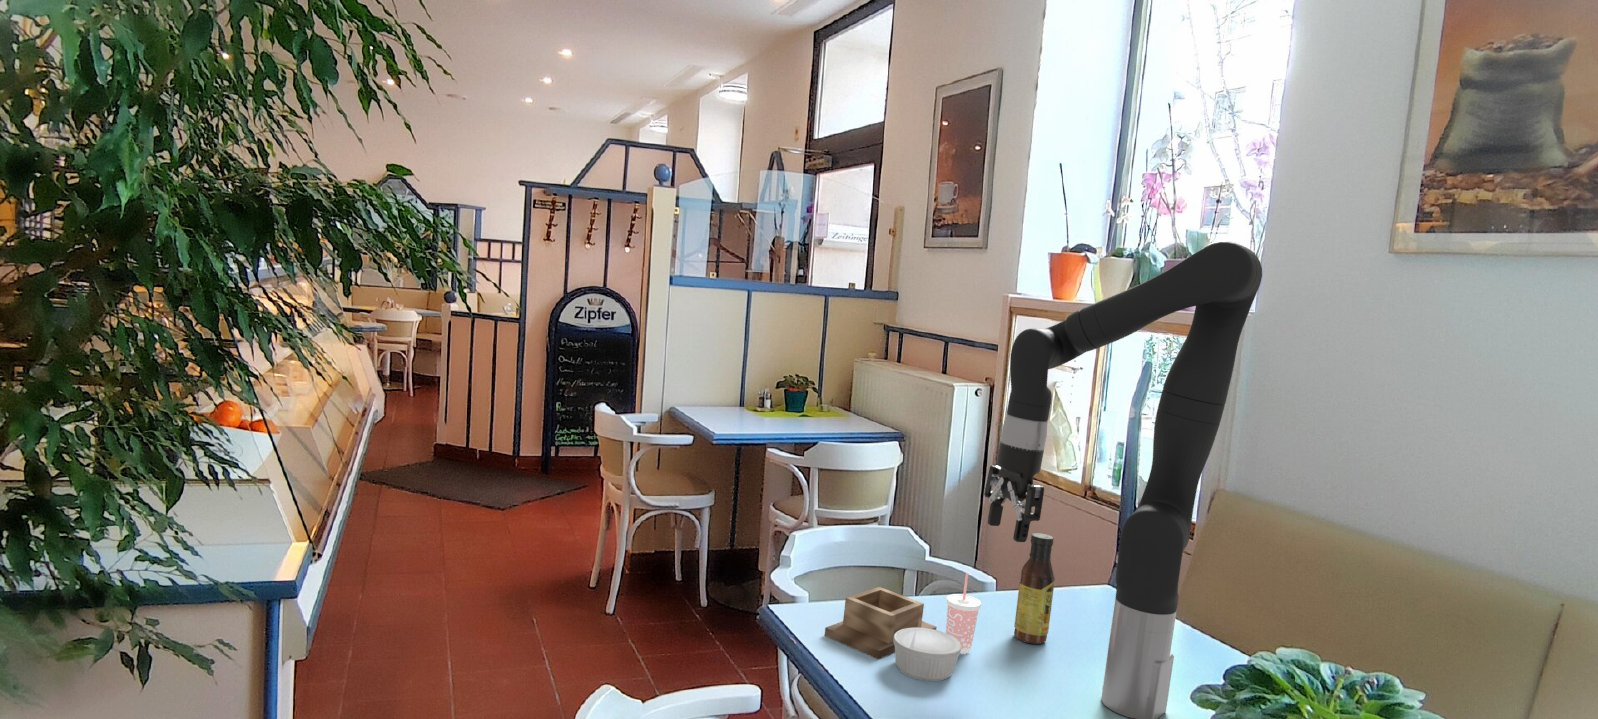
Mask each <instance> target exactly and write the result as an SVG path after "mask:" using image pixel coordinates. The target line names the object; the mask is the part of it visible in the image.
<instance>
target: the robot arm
mask: <svg viewBox="0 0 1598 719" xmlns="http://www.w3.org/2000/svg"><path fill="white" fill-rule="evenodd" d="M1262 267H1263V266H1262V263H1261V260H1260V259H1259V257H1258V256H1257V255H1256V254H1255V252H1254V251H1253V250H1251V249H1250V248H1248V247H1246V246H1244V245H1242V244H1240V243H1238V242H1237V243H1236V242H1233V241H1229V240H1220V241H1214V242H1211V243H1209V244H1207V245H1205V246H1204V247H1203V248H1200V249H1199V250H1198V251H1195V252H1194V253H1192V254H1191V255H1190V256H1188V257H1185V259H1183V260H1182V261H1180V262H1178V263H1177V264H1175V265H1174V266H1172V267H1170V268H1169V269H1167V270H1165V271H1162V273H1160V274H1158V275H1156V276H1154V277H1152V278H1150V279H1148V280H1147V281H1144V282H1142V283H1140V284H1138V285H1135V286H1133V287H1131V288H1128V289H1126V290H1124V291H1121V292H1119V293H1116V294H1114V295H1112V296H1108V297H1107V298H1104V299H1101V300H1099V301H1097V302H1095V303H1092V304H1090V305H1087V306H1085V307H1083V308H1080V309H1078V310H1076V311H1074V312H1072V313H1071V314H1069V315H1068V316H1067V317H1066V319H1064V320H1062V321H1060V322H1059V323H1056V324H1054V325H1052V326H1049V327H1046V328H1037V327H1034V328H1033V327H1032V328H1027V329H1024V330H1023V331H1020V332H1019V334H1017V336H1016V338H1015V339H1014V341H1013V344H1012V347H1011V351H1010V358H1009V360H1010V363H1009V367H1010V368H1009V369H1010V371H1009V373H1010V376H1009V378H1010V389H1011V390H1010V394H1009V398H1008V404H1007V408H1006V414H1005V418H1004V420H1003V423H1002V424H1003V425H1002V429H1001V434H1000V439H999V445H998V452H997V457H996V461H995V462H996V465H990V466H989V470H988V473H987V479H986V484H985V488H984V492H983V495H984V497H985V498H987V499H988V503H989V504H990V506H989V510H988V518H987V525H989V526H992V527H999V526H1000V525H1001V521H1002V516H1003V511H1004V510H1003V509H1004V505H1003V504H1004V503H1005V502H1006V501H1007V499H1008V501H1011V506H1012V508H1014V509H1015V513H1016V516H1017V517H1016V518H1017V519H1016V520H1015V526H1014V532H1013V541H1014V542H1016V543H1026V542H1027V539H1028V536H1029V531H1030V525H1031V522H1038V521H1039V522H1040V520H1041V515H1042V514H1041V513H1042V508H1043V501H1044V500H1043V499H1044V494H1045V487H1044V486H1043V485H1035V484H1034V476H1036V475H1038V474H1040V472H1041V470H1042V463H1043V458H1044V452H1045V448H1046V442H1047V437H1048V435H1047V434H1048V423H1049V422H1048V420H1049V415H1050V411H1051V405H1052V400H1053V399H1052V398H1053V397H1052V396H1053V393H1052V391H1051V389H1050V388H1049V387H1048V375H1049V374H1048V373H1049V370H1052V369H1054V368H1058V367H1060V366H1062V365H1064V364H1066V363H1068V362H1071V361H1073V360H1075V359H1076V358H1078V357H1080V356H1082V355H1084V354H1086V353H1088V352H1090V351H1093V350H1094V351H1095V350H1098V349H1100V348H1102V347H1104V346H1107V345H1109V344H1112V343H1114V342H1117V341H1120V340H1121V339H1124V338H1126V337H1129V336H1130V335H1132V334H1134V333H1136V332H1137V331H1140V330H1141V329H1144V327H1146V326H1148V325H1151V324H1152V323H1154V322H1156V321H1157V320H1160V319H1161V318H1164V317H1166V316H1169V315H1172V314H1174V313H1176V312H1179V311H1182V310H1185V309H1189V308H1192V307H1195V309H1194V313H1193V319H1192V322H1191V326H1190V327H1189V328H1190V329H1189V331H1188V333H1187V336H1186V338H1185V340H1184V341H1183V344H1181V345H1182V346H1181V347H1180V349H1179V351H1178V353H1177V355H1176V357H1175V358H1174V360H1173V362H1172V364H1171V366H1170V369H1169V370H1168V372H1167V376H1166V378H1165V381H1164V383H1163V388H1162V391H1161V395H1160V399H1159V402H1158V405H1157V410H1156V415H1155V420H1154V421H1155V422H1154V427H1153V441H1152V442H1153V443H1152V461H1151V467H1150V472H1149V475H1148V480H1147V481H1146V485H1145V488H1144V491H1143V493H1142V496H1141V499H1140V500H1139V503H1138V506H1137V508H1136V509H1135V511H1134V512H1132V513H1131V514H1130V515H1129V516H1128V517H1127V519H1126V520H1125V522H1124V523H1123V526H1122V529H1121V534H1120V540H1119V546H1118V554H1117V563H1116V564H1117V566H1116V571H1115V584H1116V593H1115V598H1114V605H1113V611H1112V618H1111V626H1110V633H1109V639H1108V640H1109V641H1108V647H1107V654H1106V655H1107V656H1106V662H1105V669H1104V670H1105V671H1104V675H1103V676H1104V677H1103V683H1102V691H1101V698H1100V700H1101V702H1102V703H1103V706H1105V707H1107V709H1109V710H1111V711H1113V712H1114V713H1116V714H1119V715H1120V716H1125V717H1128V718H1131V719H1159V718H1160V717H1162V716H1163V715H1164V714H1165V713H1166V712H1167V706H1168V698H1169V693H1170V688H1171V687H1170V686H1171V679H1172V674H1173V673H1172V672H1173V665H1174V660H1175V659H1174V658H1175V656H1174V654H1172V653H1171V652H1172V645H1173V644H1172V643H1173V638H1174V629H1175V623H1176V618H1177V617H1176V616H1177V610H1178V604H1179V598H1180V596H1179V581H1180V575H1181V574H1180V573H1181V568H1182V566H1181V565H1182V559H1183V554H1184V550H1185V549H1186V548H1187V546H1188V543H1189V541H1190V537H1191V528H1192V520H1193V514H1194V508H1195V500H1196V497H1197V496H1196V495H1197V492H1198V491H1197V490H1198V485H1199V482H1200V478H1201V475H1202V473H1203V471H1204V468H1205V465H1206V463H1207V461H1208V459H1209V456H1210V454H1211V451H1212V449H1213V446H1214V443H1215V440H1216V436H1217V434H1218V431H1219V428H1220V424H1221V422H1222V416H1223V413H1224V410H1225V407H1226V406H1225V405H1226V403H1227V398H1228V394H1229V389H1230V386H1231V380H1232V375H1233V372H1234V367H1235V362H1236V357H1237V356H1236V355H1237V350H1238V345H1239V341H1240V337H1241V335H1242V332H1243V329H1244V326H1245V323H1246V321H1247V317H1248V315H1249V313H1250V310H1251V308H1252V305H1253V303H1254V300H1255V299H1256V296H1257V293H1258V291H1259V288H1260V286H1261V283H1262V279H1263V268H1262ZM993 486H994V487H993ZM992 487H993V489H992ZM1033 508H1034V511H1033ZM1023 509H1024V512H1023Z"/></svg>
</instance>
